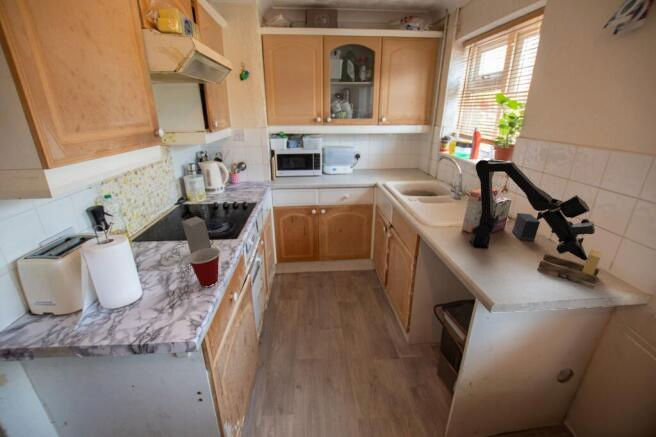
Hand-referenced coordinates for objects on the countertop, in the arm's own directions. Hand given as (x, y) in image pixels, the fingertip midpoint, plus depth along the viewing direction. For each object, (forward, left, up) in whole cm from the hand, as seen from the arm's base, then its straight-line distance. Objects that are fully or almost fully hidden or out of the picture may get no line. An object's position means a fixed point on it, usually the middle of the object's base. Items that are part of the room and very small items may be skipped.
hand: (585, 259), depth 107 cm
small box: (-3, +34, -8) cm, 35 cm away
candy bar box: (-14, +42, -8) cm, 44 cm away
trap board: (-3, +3, -8) cm, 9 cm away
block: (+1, -1, -6) cm, 6 cm away
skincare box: (-151, +3, -8) cm, 151 cm away
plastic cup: (-138, -16, -8) cm, 139 cm away
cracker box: (-23, +41, -8) cm, 47 cm away
